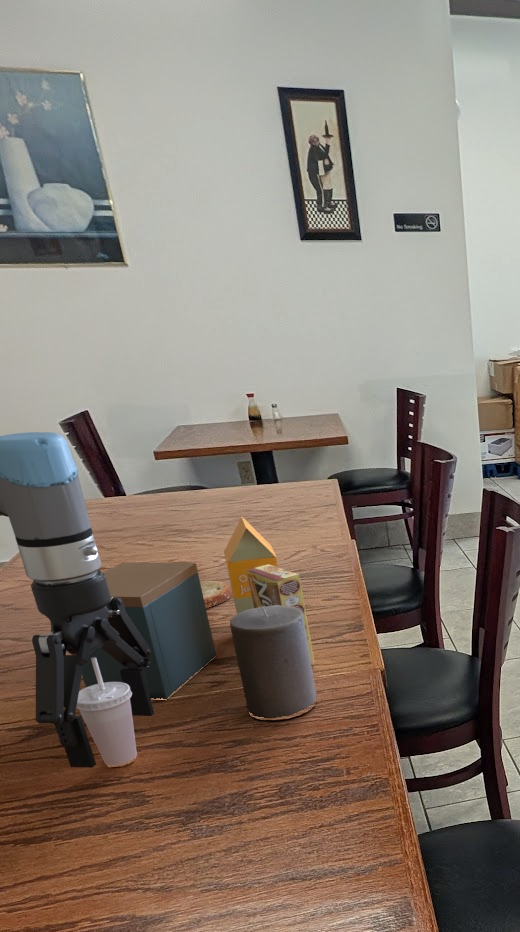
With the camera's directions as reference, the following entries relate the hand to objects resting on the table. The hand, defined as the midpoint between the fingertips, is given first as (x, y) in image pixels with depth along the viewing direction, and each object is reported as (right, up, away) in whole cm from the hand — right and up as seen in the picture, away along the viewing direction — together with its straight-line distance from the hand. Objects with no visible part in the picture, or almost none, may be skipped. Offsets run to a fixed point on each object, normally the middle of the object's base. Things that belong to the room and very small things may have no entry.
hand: (115, 739), depth 103 cm
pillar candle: (+16, +4, +15) cm, 22 cm away
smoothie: (0, -3, +1) cm, 3 cm away
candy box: (+12, +10, +28) cm, 33 cm away
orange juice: (+4, +16, +40) cm, 43 cm away
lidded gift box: (-7, +8, +24) cm, 27 cm away
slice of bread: (-18, +23, +54) cm, 62 cm away
